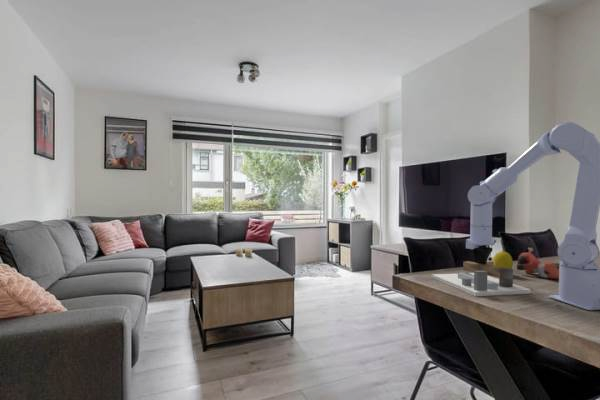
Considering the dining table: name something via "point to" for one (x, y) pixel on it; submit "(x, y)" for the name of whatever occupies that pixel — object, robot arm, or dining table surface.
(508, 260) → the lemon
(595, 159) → the robot arm
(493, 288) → the latch frame
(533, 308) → the dining table surface
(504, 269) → the latch bar
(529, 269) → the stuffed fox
